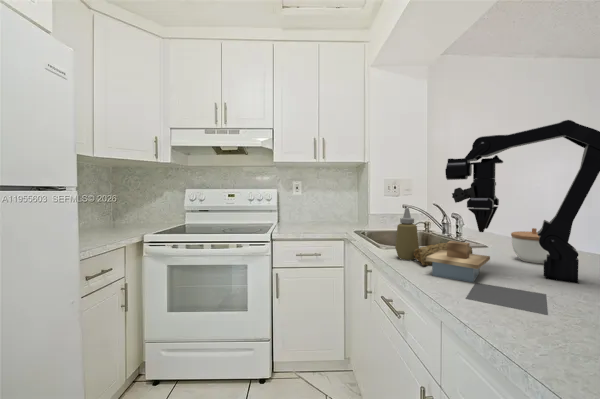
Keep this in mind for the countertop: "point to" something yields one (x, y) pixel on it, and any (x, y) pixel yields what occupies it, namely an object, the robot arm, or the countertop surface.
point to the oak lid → (458, 256)
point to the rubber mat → (509, 298)
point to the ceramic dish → (454, 272)
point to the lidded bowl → (528, 246)
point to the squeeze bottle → (406, 237)
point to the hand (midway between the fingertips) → (483, 230)
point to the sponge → (430, 252)
